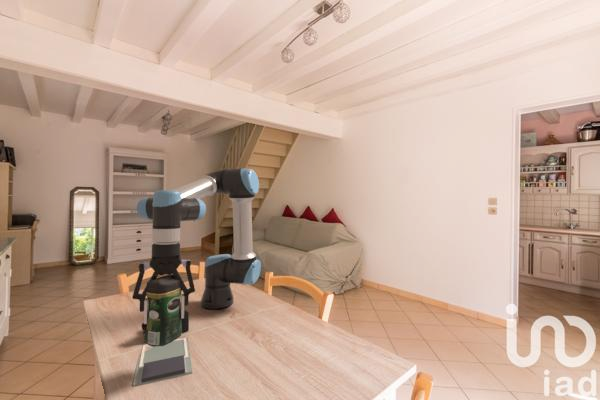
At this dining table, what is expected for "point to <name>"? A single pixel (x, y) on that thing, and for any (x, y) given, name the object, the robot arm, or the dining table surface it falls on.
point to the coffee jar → (163, 311)
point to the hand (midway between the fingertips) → (164, 319)
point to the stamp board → (163, 357)
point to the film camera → (184, 320)
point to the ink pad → (163, 369)
